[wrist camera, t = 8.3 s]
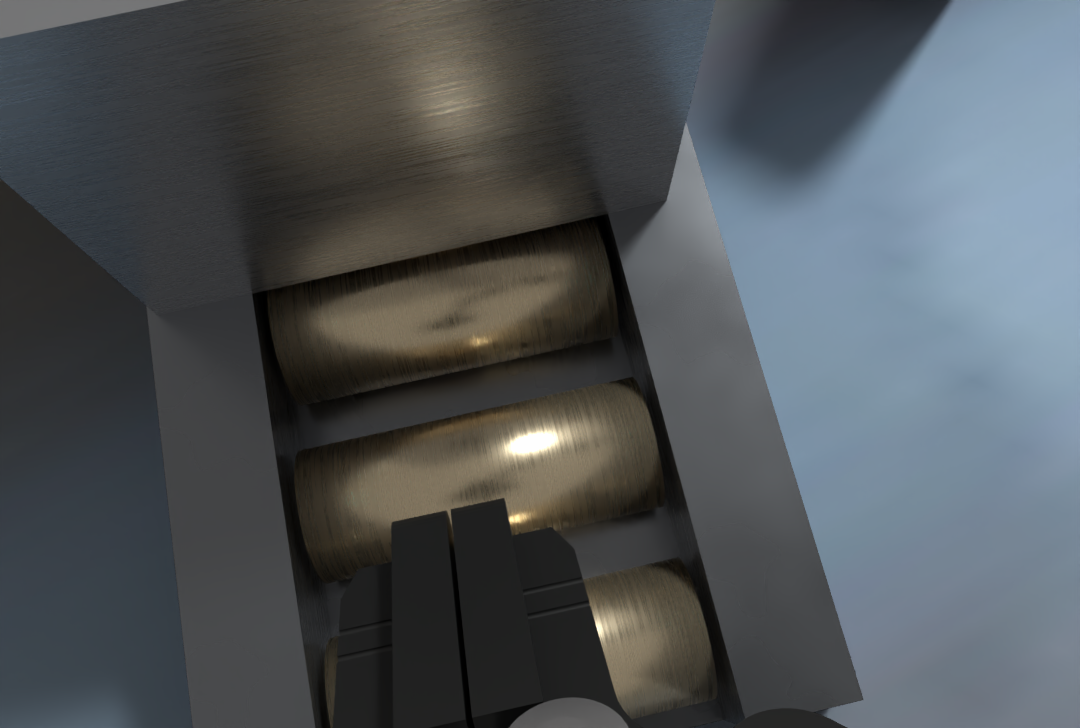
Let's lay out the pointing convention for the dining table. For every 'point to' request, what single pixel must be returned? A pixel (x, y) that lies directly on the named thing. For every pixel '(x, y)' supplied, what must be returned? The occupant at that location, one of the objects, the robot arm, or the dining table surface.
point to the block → (333, 128)
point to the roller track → (498, 462)
